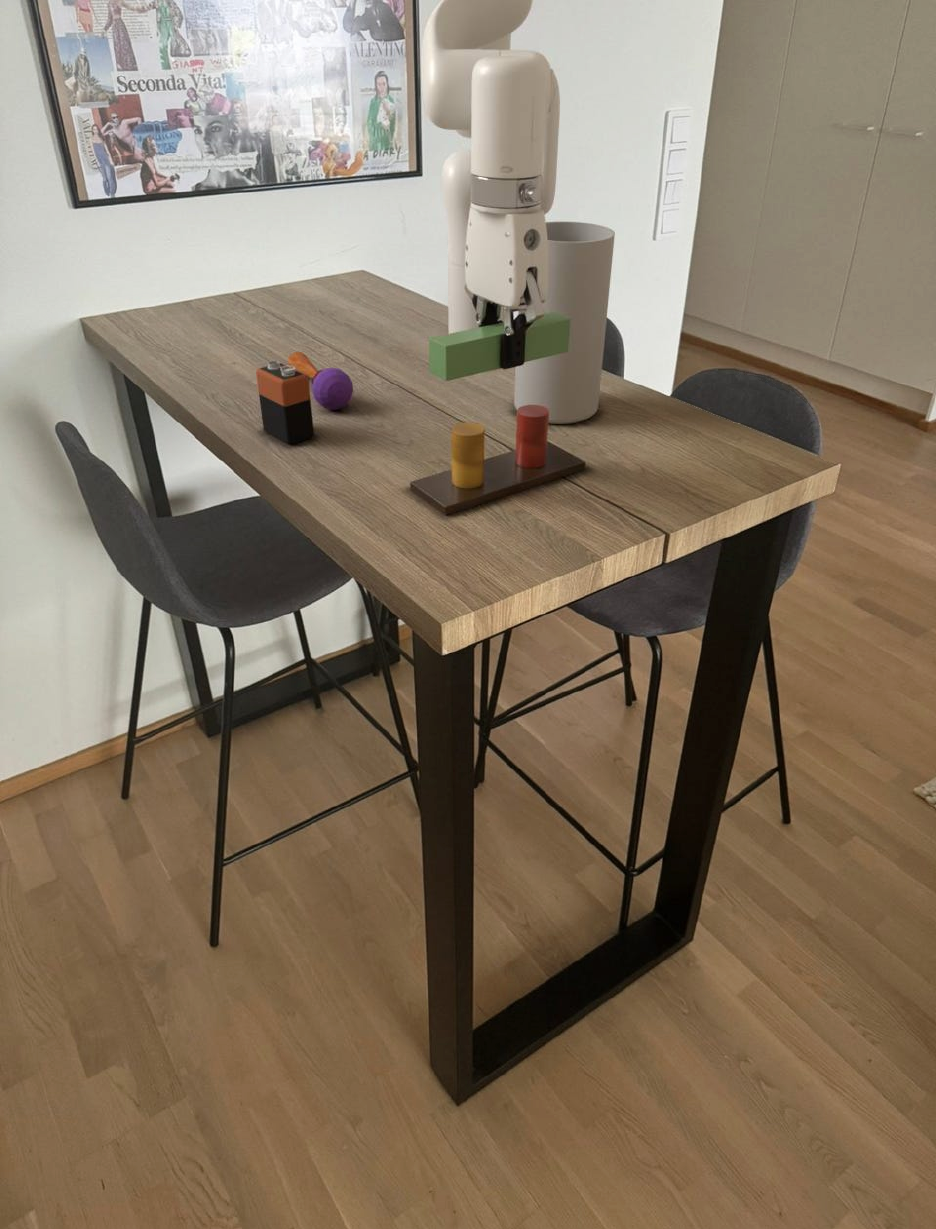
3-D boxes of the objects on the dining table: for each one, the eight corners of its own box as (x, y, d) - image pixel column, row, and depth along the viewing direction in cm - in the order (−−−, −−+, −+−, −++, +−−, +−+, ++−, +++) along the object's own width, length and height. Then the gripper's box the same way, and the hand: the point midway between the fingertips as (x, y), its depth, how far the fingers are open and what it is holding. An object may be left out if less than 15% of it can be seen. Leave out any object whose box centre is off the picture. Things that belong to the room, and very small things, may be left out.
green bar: (550, 344, 111) (552, 311, 109) (568, 352, 109) (570, 319, 107) (429, 372, 103) (428, 338, 100) (446, 381, 100) (445, 346, 98)
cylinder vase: (502, 418, 131) (508, 237, 116) (527, 389, 140) (536, 218, 126) (586, 431, 127) (602, 246, 113) (605, 400, 137) (623, 226, 122)
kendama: (317, 344, 145) (360, 374, 130) (314, 381, 148) (357, 414, 132) (281, 342, 142) (321, 372, 127) (279, 380, 145) (318, 414, 130)
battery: (289, 446, 122) (281, 375, 117) (262, 431, 126) (253, 362, 121) (315, 437, 125) (309, 367, 119) (288, 423, 129) (280, 355, 123)
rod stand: (546, 448, 122) (549, 391, 118) (584, 469, 117) (590, 410, 112) (410, 490, 112) (408, 429, 107) (445, 515, 107) (445, 452, 102)
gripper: (583, 201, 92) (570, 375, 102) (488, 178, 103) (485, 337, 113) (526, 209, 88) (518, 389, 99) (433, 184, 99) (436, 348, 110)
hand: (501, 359), depth 106 cm, fingers closed on green bar, 3 cm apart
